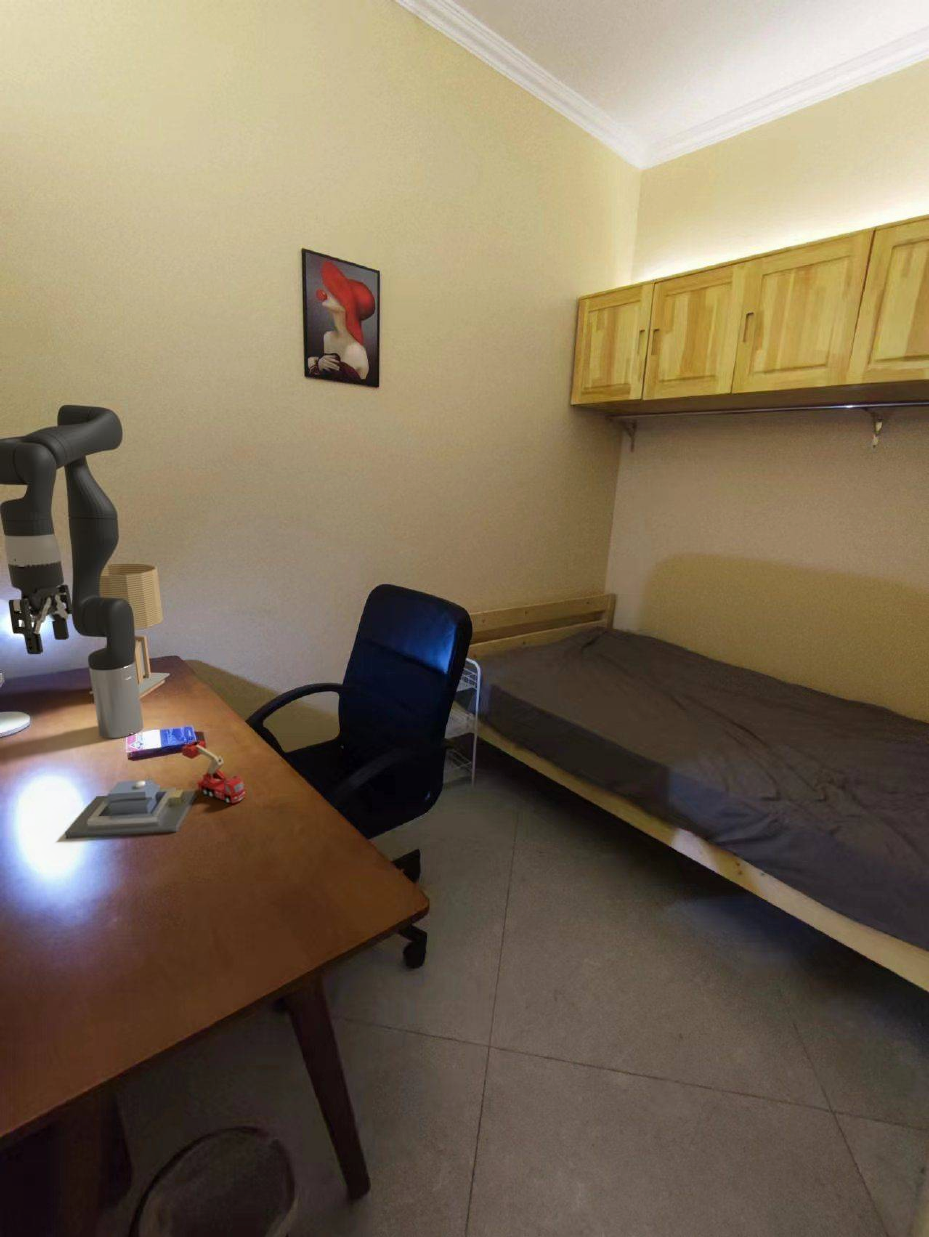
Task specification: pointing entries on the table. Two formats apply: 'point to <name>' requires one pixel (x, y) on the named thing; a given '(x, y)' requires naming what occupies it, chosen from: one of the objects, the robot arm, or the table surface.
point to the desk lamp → (137, 611)
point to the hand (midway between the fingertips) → (49, 646)
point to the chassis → (133, 816)
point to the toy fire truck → (215, 775)
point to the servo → (132, 797)
